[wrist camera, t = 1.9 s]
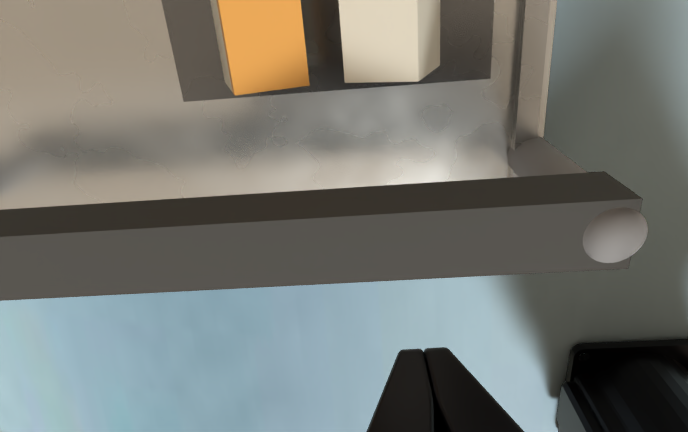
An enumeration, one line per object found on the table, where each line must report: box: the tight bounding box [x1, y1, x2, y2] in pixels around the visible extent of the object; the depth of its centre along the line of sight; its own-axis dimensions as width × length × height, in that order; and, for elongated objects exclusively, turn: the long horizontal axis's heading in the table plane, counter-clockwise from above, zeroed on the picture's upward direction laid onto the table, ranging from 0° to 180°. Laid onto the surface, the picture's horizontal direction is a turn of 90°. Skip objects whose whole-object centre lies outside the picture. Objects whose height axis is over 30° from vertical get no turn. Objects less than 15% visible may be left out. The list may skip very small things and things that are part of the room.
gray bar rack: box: [0, 136, 648, 301], centre depth 14 cm, size 25×13×8 cm, turn 95°
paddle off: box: [210, 0, 310, 95], centre depth 14 cm, size 2×3×3 cm, turn 4°
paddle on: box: [338, 0, 440, 83], centre depth 14 cm, size 2×3×3 cm, turn 4°
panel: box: [0, 0, 557, 210], centre depth 17 cm, size 24×16×2 cm, turn 95°
